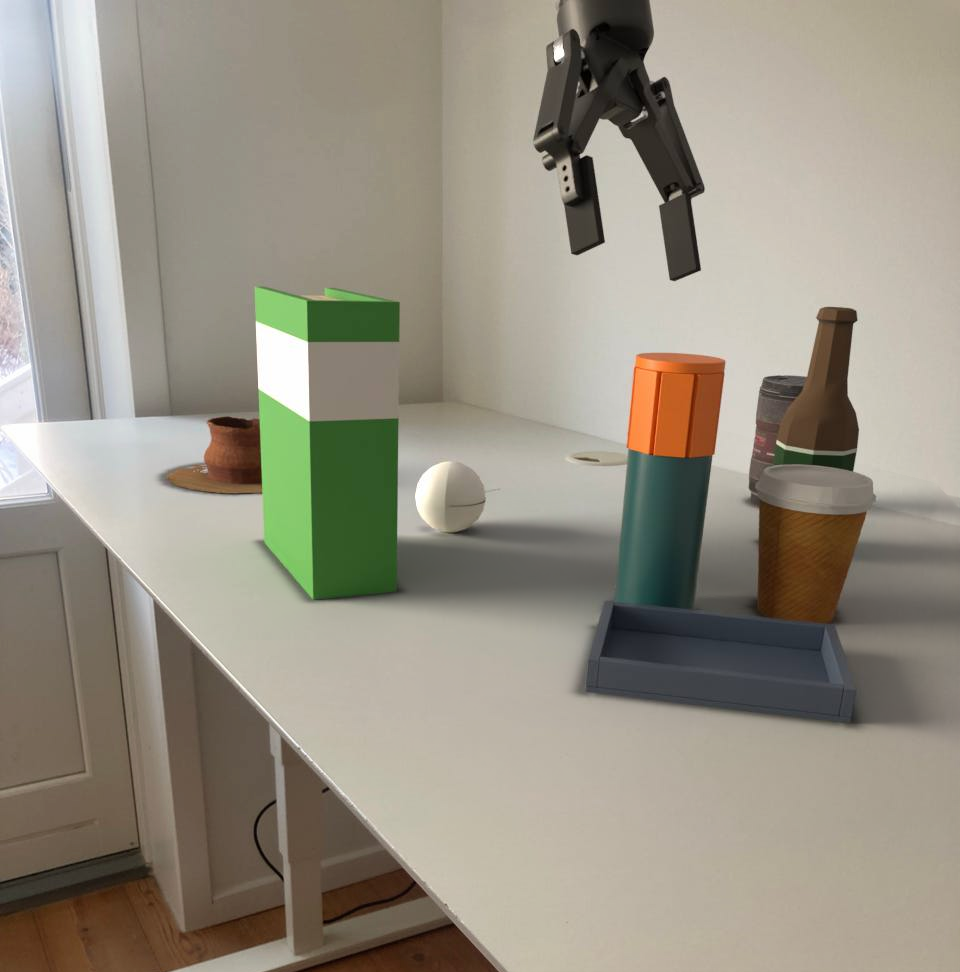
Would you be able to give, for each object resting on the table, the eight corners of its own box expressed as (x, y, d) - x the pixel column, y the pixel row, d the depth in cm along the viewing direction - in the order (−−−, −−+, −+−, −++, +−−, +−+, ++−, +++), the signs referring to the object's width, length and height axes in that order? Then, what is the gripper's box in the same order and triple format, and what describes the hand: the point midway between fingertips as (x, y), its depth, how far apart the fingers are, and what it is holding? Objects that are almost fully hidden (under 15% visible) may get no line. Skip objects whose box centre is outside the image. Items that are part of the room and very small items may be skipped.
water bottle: (692, 605, 89) (715, 419, 83) (691, 632, 83) (716, 433, 77) (616, 597, 90) (633, 413, 84) (610, 623, 84) (628, 427, 78)
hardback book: (264, 544, 101) (254, 286, 92) (337, 538, 104) (334, 287, 95) (313, 601, 86) (306, 300, 77) (396, 592, 89) (399, 302, 80)
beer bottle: (794, 563, 102) (835, 310, 93) (745, 542, 108) (779, 304, 100) (854, 556, 105) (899, 311, 96) (803, 536, 112) (841, 305, 103)
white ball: (430, 544, 103) (432, 471, 100) (404, 525, 109) (405, 456, 107) (519, 536, 107) (523, 466, 104) (489, 518, 113) (492, 452, 111)
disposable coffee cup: (819, 594, 93) (842, 463, 89) (874, 632, 84) (902, 489, 80) (720, 596, 91) (738, 462, 87) (766, 635, 83) (789, 489, 78)
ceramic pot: (280, 458, 138) (279, 405, 135) (339, 486, 124) (338, 428, 122) (146, 469, 128) (141, 413, 126) (193, 501, 115) (189, 438, 112)
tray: (829, 655, 79) (834, 624, 78) (850, 725, 68) (856, 690, 67) (601, 630, 82) (604, 600, 81) (584, 693, 71) (587, 659, 70)
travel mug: (730, 503, 124) (747, 377, 119) (767, 494, 130) (785, 373, 124) (789, 517, 119) (809, 386, 113) (825, 508, 124) (846, 381, 119)
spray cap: (714, 444, 84) (725, 356, 81) (714, 460, 77) (726, 365, 75) (630, 437, 85) (638, 350, 82) (624, 453, 79) (633, 359, 76)
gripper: (651, 70, 95) (684, 298, 95) (461, -28, 77) (502, 253, 77) (722, 28, 89) (757, 270, 89) (536, -88, 71) (580, 214, 71)
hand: (639, 263), depth 83 cm, fingers open, 13 cm apart
